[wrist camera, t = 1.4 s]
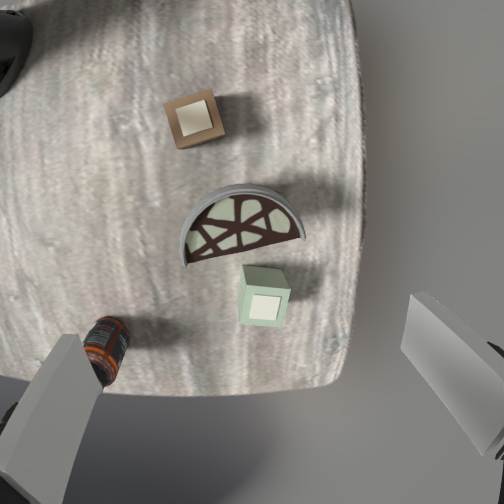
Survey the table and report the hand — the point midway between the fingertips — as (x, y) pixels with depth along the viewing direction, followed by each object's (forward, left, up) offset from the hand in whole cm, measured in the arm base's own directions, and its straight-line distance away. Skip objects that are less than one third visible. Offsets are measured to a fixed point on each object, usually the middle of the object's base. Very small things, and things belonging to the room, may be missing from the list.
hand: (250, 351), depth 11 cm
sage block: (+10, +3, -27) cm, 29 cm away
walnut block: (-11, -2, -27) cm, 29 cm away
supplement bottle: (+15, -19, -27) cm, 36 cm away
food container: (-1, +1, -27) cm, 27 cm away
